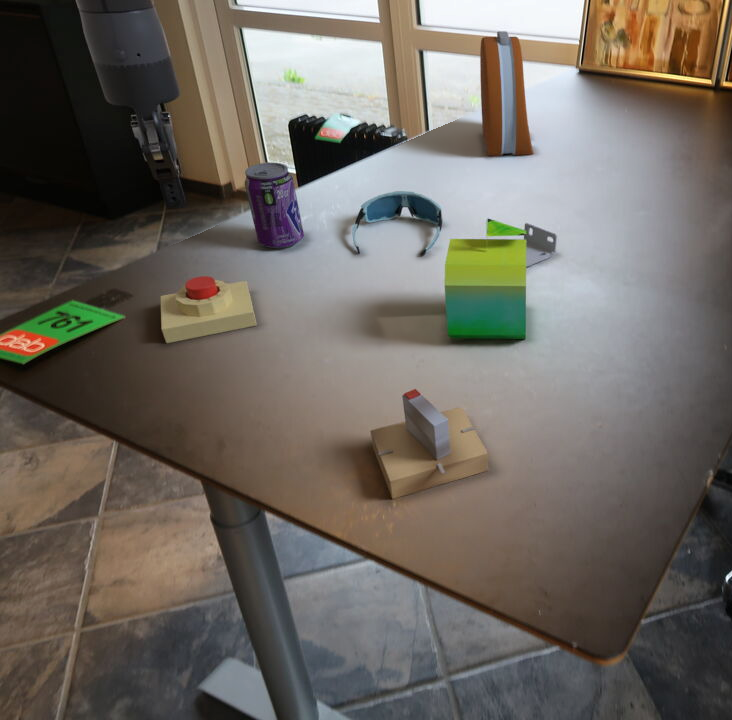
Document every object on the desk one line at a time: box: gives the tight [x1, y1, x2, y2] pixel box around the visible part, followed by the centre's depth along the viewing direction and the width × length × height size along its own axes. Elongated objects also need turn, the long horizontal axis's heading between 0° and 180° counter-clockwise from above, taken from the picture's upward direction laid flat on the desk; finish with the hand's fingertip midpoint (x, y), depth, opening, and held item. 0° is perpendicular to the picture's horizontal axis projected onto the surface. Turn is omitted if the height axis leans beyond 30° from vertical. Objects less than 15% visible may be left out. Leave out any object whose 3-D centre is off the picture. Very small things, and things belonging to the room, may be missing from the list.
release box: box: [160, 279, 258, 344], centre depth 93 cm, size 11×9×4 cm
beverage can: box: [244, 162, 305, 249], centre depth 110 cm, size 7×7×12 cm
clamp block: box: [370, 406, 489, 500], centre depth 72 cm, size 10×10×3 cm
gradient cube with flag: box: [444, 218, 527, 340], centre depth 90 cm, size 11×10×15 cm
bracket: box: [523, 222, 558, 268], centre depth 109 cm, size 7×10×4 cm, turn 140°
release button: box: [184, 275, 218, 300], centre depth 92 cm, size 4×4×2 cm
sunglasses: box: [351, 190, 444, 257], centre depth 115 cm, size 14×15×5 cm
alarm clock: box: [479, 30, 535, 157], centre depth 148 cm, size 22×10×23 cm, turn 8°
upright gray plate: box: [401, 388, 450, 460], centre depth 70 cm, size 6×2×5 cm, turn 39°
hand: (176, 205), depth 85 cm, fingers closed
